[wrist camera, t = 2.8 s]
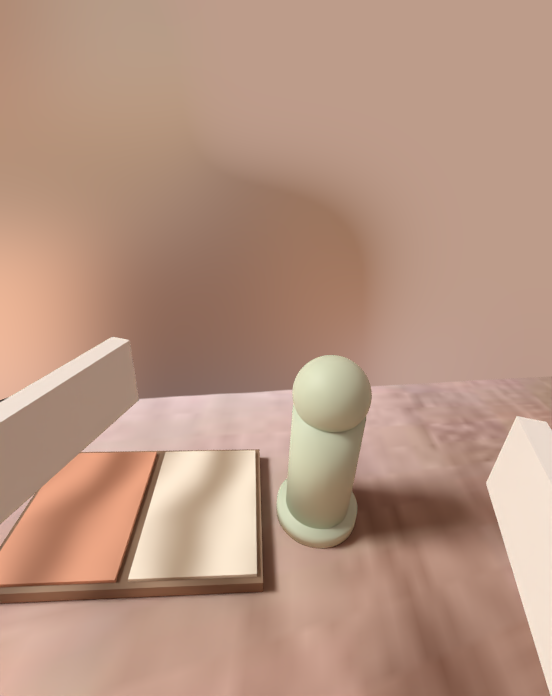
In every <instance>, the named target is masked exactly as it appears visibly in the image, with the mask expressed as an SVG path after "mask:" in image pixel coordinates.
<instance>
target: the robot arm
mask: <svg viewBox="0 0 552 696" xmlns="http://www.w3.org/2000/svg"><path fill="white" fill-rule="evenodd" d="M138 400H139V398H138V391H137V385H136V378H135V372H134V366H133V359H132V352H131V346H130V340H126V339H121V338H116V337H111V338H109V339H108V340H106V341H104V342H103V343H101V344H99V345H98V346H96V347H94V348H92V349H91V350H89V351H87V352H86V353H84V354H82V355H80V356H79V357H77V358H75V359H74V360H72V361H70V362H68V363H67V364H65V365H63V366H62V367H60V368H58V369H56V370H55V371H53V372H51V373H50V374H48V375H46V376H45V377H43V378H41V379H40V380H38V381H36V382H34V383H33V384H31V385H29V386H28V387H26V388H24V389H22V390H21V391H19V392H17V393H15V394H14V395H12V396H10V397H8V398H5V399H2V400H0V524H1V523H2V522H3V521H4V520H5V519H7V518H8V517H9V516H10V515H11V514H12V513H13V512H14V511H16V510H17V509H18V508H19V507H20V506H21V505H22V504H23V503H24V502H26V501H27V500H28V499H29V498H30V497H31V496H32V495H33V494H34V493H36V492H37V491H38V490H39V489H40V488H41V487H42V486H43V485H45V484H46V483H47V482H48V481H49V480H50V479H51V478H52V477H53V476H55V475H56V474H57V473H58V472H59V471H60V470H61V469H62V468H64V467H65V466H66V465H67V464H68V463H69V462H70V461H71V460H72V459H74V458H75V457H76V456H77V455H78V454H79V453H80V452H81V451H82V450H84V449H85V448H86V447H87V446H88V445H89V444H90V443H91V442H93V441H94V440H95V439H96V438H97V437H98V436H99V435H100V434H101V433H103V432H104V431H105V430H106V429H107V428H108V427H109V426H110V425H112V424H113V423H114V422H115V421H116V420H117V419H118V418H119V417H120V416H122V415H123V414H124V413H125V412H126V411H127V410H128V409H129V408H130V407H132V406H133V405H134V404H135V403H136V402H137V401H138ZM486 485H487V488H488V491H489V494H490V498H491V501H492V504H493V508H494V511H495V514H496V518H497V521H498V524H499V527H500V531H501V534H502V537H503V541H504V544H505V547H506V550H507V554H508V557H509V560H510V564H511V567H512V570H513V574H514V577H515V580H516V583H517V587H518V590H519V593H520V597H521V600H522V603H523V606H524V610H525V613H526V616H527V620H528V623H529V626H530V630H531V633H532V636H533V639H534V643H535V646H536V649H537V653H538V656H539V659H540V662H541V666H542V669H543V672H544V676H545V679H546V682H547V686H548V689H549V692H550V695H551V696H552V430H551V429H550V427H549V425H548V424H547V422H544V421H539V420H534V419H529V418H524V417H519V416H517V417H516V419H515V421H514V423H513V425H512V428H511V430H510V432H509V434H508V436H507V439H506V441H505V443H504V445H503V447H502V449H501V452H500V454H499V456H498V458H497V460H496V463H495V465H494V467H493V469H492V471H491V474H490V476H489V478H488V480H487V482H486Z"/></svg>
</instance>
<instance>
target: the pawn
mask: <svg viewBox="0 0 552 696" xmlns="http://www.w3.org/2000/svg"><path fill="white" fill-rule="evenodd" d="M292 396H293V403H294V404H293V411H292V424H291V438H290V451H289V464H288V478H287V479H286V480H285V481H284V482H283V484H282V485H281V487H280V489H279V492H278V496H277V517H278V520H279V522H280V525H281V526H282V528H283V530H284V531H285V532H286V533H287V534H288V535H289V536H290V537H291V538H292V539H294V540H295V541H297V542H298V543H300V544H303V545H305V546H308V547H312V548H329V547H333V546H336V545H338V544H340V543H342V542H343V541H345V540H346V539H347V538H348V537H349V536H350V534H351V532H352V530H353V528H354V524H355V520H356V515H357V502H356V498H355V496H354V494H353V492H352V488H353V483H354V478H355V473H356V468H357V463H358V457H359V452H360V447H361V442H362V437H363V432H364V427H365V422H366V415H367V413H368V411H369V408H370V404H371V398H372V393H371V386H370V383H369V380H368V378H367V376H366V375H365V373H364V371H363V370H362V369H361V368H360V367H359V366H358V365H357V364H356V363H354V362H353V361H351V360H349V359H347V358H345V357H342V356H336V355H326V356H321V357H318V358H316V359H313V360H311V361H310V362H308V363H307V364H306V365H305V366H304V367H303V368H302V369H301V370H300V372H299V373H298V375H297V377H296V379H295V381H294V385H293V391H292Z"/></svg>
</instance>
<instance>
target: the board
mask: <svg viewBox="0 0 552 696" xmlns="http://www.w3.org/2000/svg"><path fill="white" fill-rule="evenodd" d="M242 592H263V560H262V524H261V488H260V453H259V450H196V451H132V452H80V453H79V454H78V455H77V456H76V457H75V458H74V459H72V460H71V461H70V462H69V463H68V464H67V465H66V466H65V467H64V468H62V469H61V470H60V471H59V472H58V473H57V474H56V475H55V476H53V477H52V478H51V479H50V480H49V481H48V482H47V483H46V484H45V485H43V486H42V487H41V488H40V489H39V490H38V491H37V492H36V493H35V494H34V496H33V497H32V499H31V500H30V502H29V503H28V505H27V506H26V508H25V510H24V511H23V513H22V514H21V516H20V517H19V519H18V520H17V522H16V523H15V525H14V526H13V528H12V529H11V531H10V532H9V534H8V536H7V537H6V539H5V540H4V542H3V543H2V545H1V546H0V603H18V602H41V601H63V600H85V599H108V598H130V597H152V596H175V595H197V594H219V593H242Z"/></svg>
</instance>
